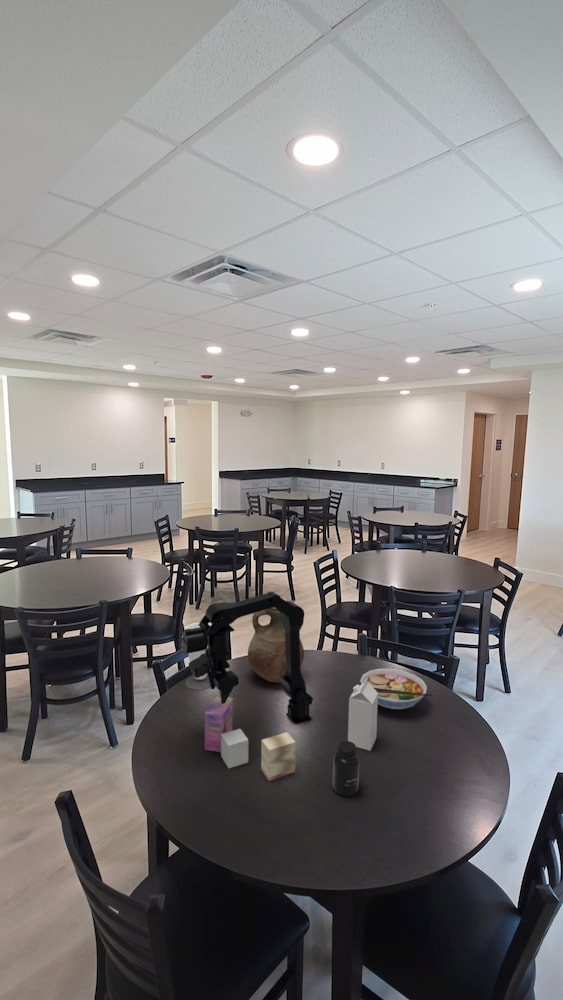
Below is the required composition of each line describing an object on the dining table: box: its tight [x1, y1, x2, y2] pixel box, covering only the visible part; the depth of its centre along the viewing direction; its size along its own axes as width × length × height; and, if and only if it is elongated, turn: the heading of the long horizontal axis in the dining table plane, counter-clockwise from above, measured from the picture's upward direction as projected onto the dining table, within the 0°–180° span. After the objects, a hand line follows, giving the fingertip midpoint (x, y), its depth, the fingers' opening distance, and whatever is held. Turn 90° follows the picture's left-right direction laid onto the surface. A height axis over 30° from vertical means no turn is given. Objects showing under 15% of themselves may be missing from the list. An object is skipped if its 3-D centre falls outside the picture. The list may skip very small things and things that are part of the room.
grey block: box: [220, 728, 249, 769], centre depth 138 cm, size 6×6×7 cm
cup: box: [184, 622, 212, 691], centre depth 181 cm, size 12×12×22 cm
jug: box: [247, 607, 305, 684], centre depth 184 cm, size 22×22×30 cm
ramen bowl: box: [359, 668, 432, 710], centre depth 169 cm, size 25×23×8 cm
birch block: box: [260, 731, 296, 782], centre depth 133 cm, size 8×5×9 cm, turn 117°
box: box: [204, 695, 234, 753], centre depth 146 cm, size 10×6×12 cm, turn 168°
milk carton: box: [347, 678, 379, 752], centre depth 146 cm, size 7×7×19 cm
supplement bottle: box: [332, 740, 360, 797], centre depth 127 cm, size 7×7×12 cm
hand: (217, 696), depth 145 cm, fingers open, 9 cm apart
